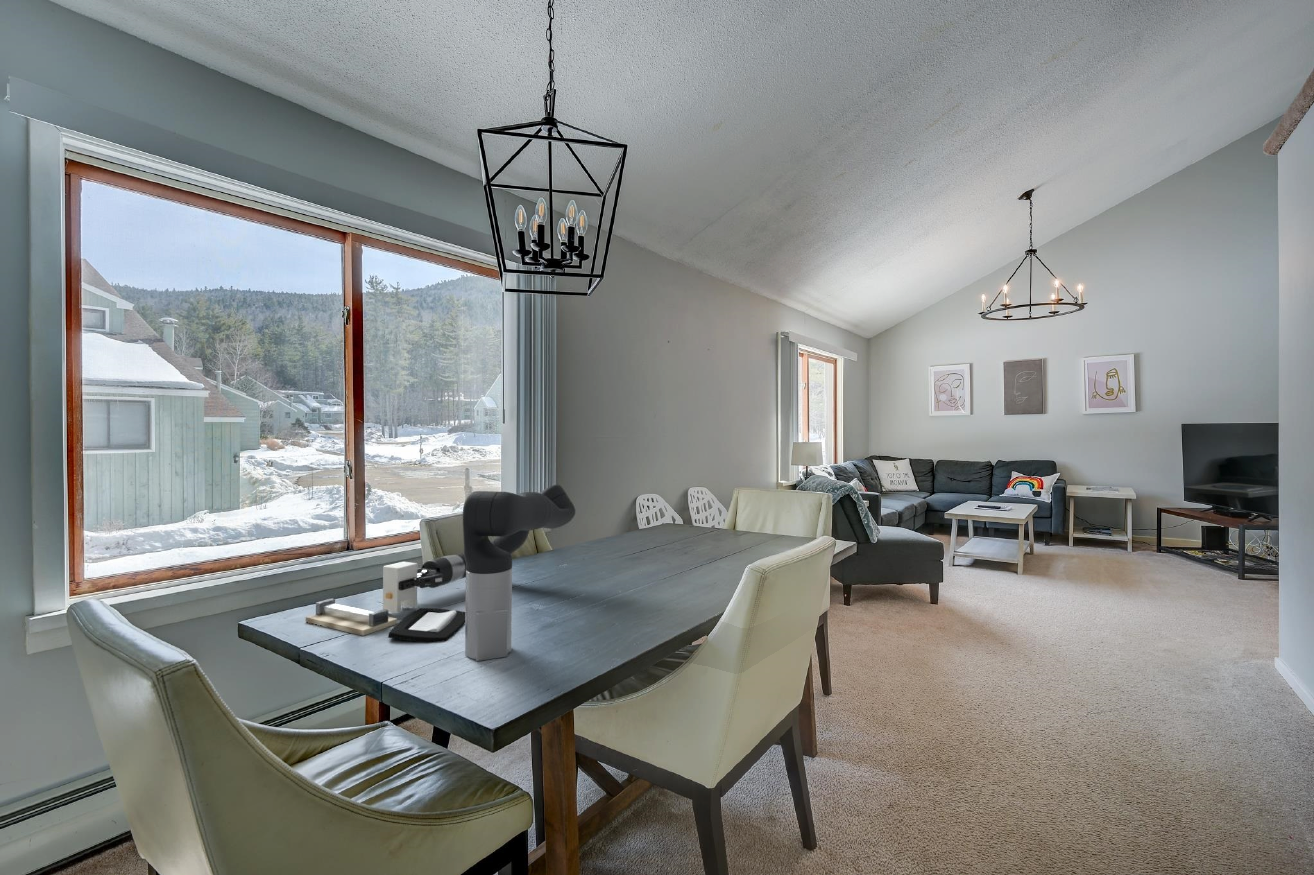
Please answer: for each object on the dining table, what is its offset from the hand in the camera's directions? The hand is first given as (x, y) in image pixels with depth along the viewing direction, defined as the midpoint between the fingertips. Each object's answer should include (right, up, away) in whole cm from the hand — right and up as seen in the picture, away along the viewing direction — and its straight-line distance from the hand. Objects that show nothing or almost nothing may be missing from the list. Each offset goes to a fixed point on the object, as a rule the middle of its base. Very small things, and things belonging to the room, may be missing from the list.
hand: (391, 584), depth 143 cm
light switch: (+13, -8, -9) cm, 18 cm away
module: (+1, -7, +2) cm, 7 cm away
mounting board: (-6, -7, -7) cm, 12 cm away
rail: (-6, -6, -7) cm, 11 cm away
